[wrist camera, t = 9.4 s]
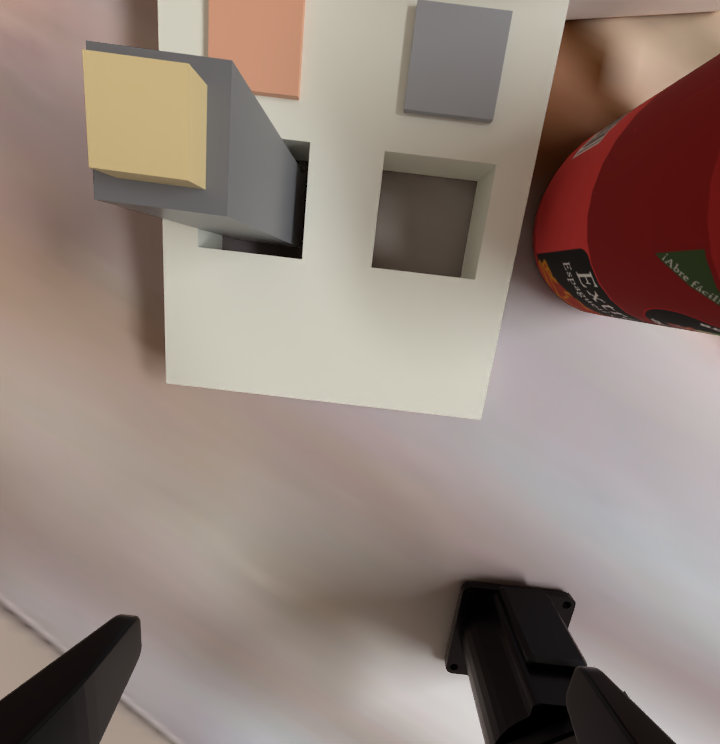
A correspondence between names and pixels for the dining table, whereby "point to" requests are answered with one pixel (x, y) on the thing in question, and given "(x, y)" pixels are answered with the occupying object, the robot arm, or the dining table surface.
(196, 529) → the dining table surface
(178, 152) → the plug
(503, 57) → the socket board
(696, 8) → the medicine bottle
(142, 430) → the dining table surface
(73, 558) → the dining table surface
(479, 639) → the robot arm
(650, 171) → the canned food
